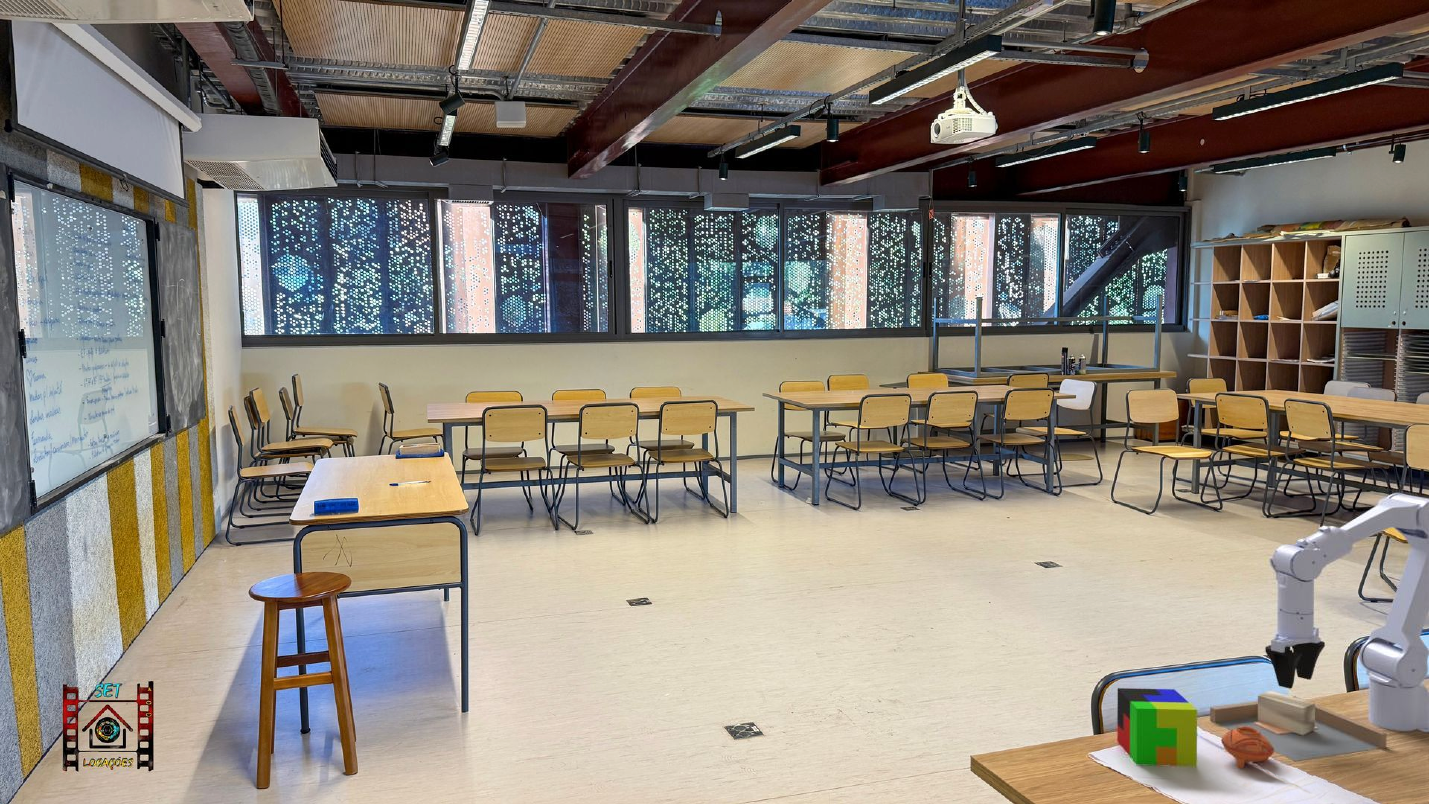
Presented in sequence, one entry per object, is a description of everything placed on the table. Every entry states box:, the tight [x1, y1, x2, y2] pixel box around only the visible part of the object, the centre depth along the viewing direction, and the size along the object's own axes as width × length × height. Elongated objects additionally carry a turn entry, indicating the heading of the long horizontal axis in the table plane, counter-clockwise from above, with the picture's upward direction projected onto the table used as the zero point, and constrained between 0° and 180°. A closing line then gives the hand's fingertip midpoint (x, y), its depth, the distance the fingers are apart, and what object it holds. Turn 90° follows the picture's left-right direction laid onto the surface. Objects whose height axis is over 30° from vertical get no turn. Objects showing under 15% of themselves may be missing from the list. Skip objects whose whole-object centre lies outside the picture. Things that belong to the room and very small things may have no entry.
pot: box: [1220, 726, 1274, 770], centre depth 160 cm, size 8×8×7 cm
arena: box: [1209, 695, 1388, 762], centre depth 171 cm, size 20×19×3 cm
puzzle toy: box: [1116, 687, 1198, 767], centre depth 165 cm, size 10×10×10 cm
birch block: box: [1257, 690, 1316, 735], centre depth 174 cm, size 4×8×5 cm, turn 32°
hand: (1295, 682), depth 173 cm, fingers open, 7 cm apart
